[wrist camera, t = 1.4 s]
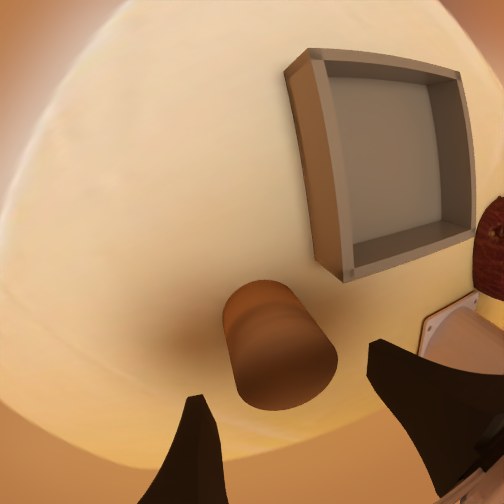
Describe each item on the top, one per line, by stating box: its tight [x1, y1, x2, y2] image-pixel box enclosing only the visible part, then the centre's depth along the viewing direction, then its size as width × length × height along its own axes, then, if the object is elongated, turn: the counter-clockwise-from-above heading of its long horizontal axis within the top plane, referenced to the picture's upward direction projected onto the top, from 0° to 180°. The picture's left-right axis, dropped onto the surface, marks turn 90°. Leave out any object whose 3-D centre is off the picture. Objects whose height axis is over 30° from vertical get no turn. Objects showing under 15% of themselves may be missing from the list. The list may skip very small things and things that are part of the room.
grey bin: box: [284, 48, 476, 283], centre depth 13 cm, size 11×11×4 cm
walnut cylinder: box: [222, 280, 338, 411], centre depth 14 cm, size 5×5×6 cm
